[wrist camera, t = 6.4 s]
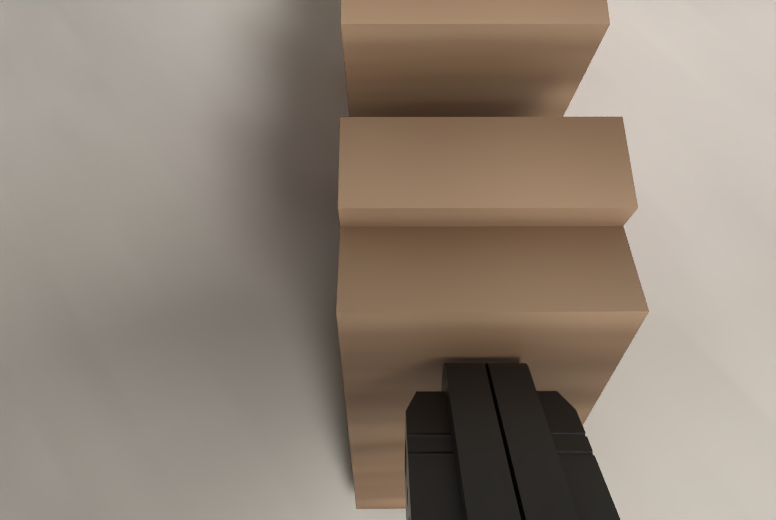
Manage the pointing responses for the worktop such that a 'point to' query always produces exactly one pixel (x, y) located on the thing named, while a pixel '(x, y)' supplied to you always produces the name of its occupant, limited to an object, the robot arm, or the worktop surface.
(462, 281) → the domino
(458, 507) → the robot arm
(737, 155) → the worktop surface
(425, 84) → the domino
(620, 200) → the domino
